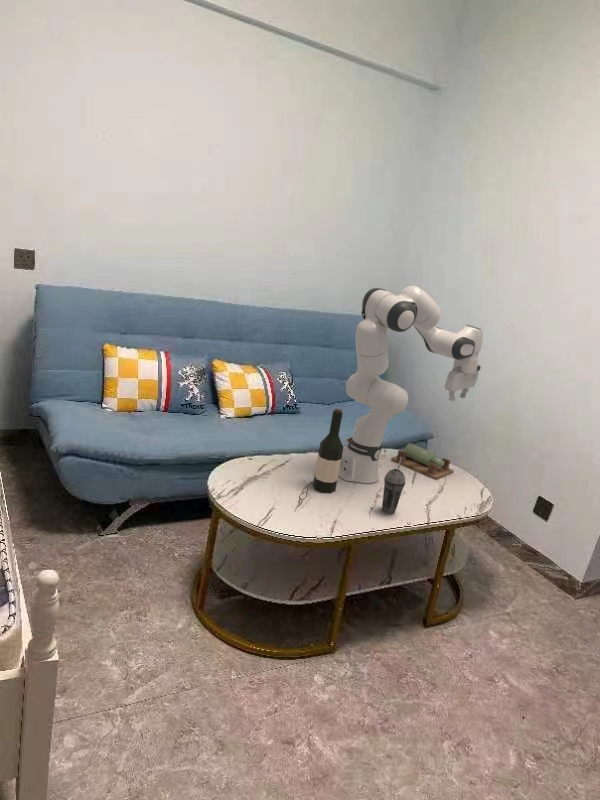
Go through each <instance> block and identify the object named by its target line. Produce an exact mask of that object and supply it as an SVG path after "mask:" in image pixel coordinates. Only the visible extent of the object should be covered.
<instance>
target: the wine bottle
mask: <svg viewBox="0 0 600 800" xmlns="http://www.w3.org/2000/svg"><path fill="white" fill-rule="evenodd" d="M342 419H343V410H342V409H340V408H335V409H334V410H333V411H332V416H331V421H330V427H329V433H328V434H327V435H325V437H324V438H323V440H322V441H320V443H319V448H318V455H317V459H316V466H315V473H314V477H313V483H312V487H313V489H314V491H316V492H319V493H322V494H332V493H334V492H336V489H337V485H338V479H339V476H338V474H339V469H340V464H341V458H342V453H343V447H344V445H343V444H342V441H341V438H340V436H339V435H340V429H341V424H342V421H343V420H342Z"/></svg>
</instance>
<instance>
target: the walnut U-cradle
mask: <svg viewBox="0 0 600 800" xmlns="http://www.w3.org/2000/svg"><path fill="white" fill-rule="evenodd" d="M400 457H402V459H401V463H400V466H403V467H405V468H407V469H409V470H412V471H414V472H416V473H419V474H421V475H423V476H425V477H428V478H430V479H433V480H435V481H438V480H441V479H443V478H445V477H447V475H448V476H451V475H452V474H454V469H452V468H450V464H451V459H448V458H445V457H442V459H441V460H442V461H444V462H445V464H444V466H443V467H442V468H441V467H439V466H438V465H436V464H434V463H430V464H429V466H426V465H424V464H422V463H419V462H417V461H415V460H412V459H410V458H407V457H406V452H405V451H404V450H402V449H399V450H397V455H395V456H392V457H391V458H390V461H391V462H393V463H395V464H398V465H399V461H400ZM440 478H441V479H440Z"/></svg>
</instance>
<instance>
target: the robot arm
mask: <svg viewBox="0 0 600 800" xmlns="http://www.w3.org/2000/svg"><path fill="white" fill-rule="evenodd" d="M361 308H362V309H361V315H362V318H363V320H361V321H360V322H359V323H358V324H357V326H356V330H355V351H356V361H357V363H356V364H357V367H356V368H357V369H356V372H355V373H353V374H351V375H350V376H349V378H348V379H347V381H346V383H345V391H346V394H347V395H348V396H349V397H350V398H351V399H353V401H356V402H357V403H361V404H363V405H365V406H366V407H367V406H368V407H370V410H369V413H368V414H365V415H361V416H359V418H357V419H356V421H355V423H354V430H353V435H352V437H349V438H347V439H346V441H345V443H347V445H343V453H342V458H341V464H340V469H339V474H338V478H341V479H342V480H344V481H346V482H355V483H359V484H360V483H362V484H374V483H376V482H378V481H379V462H380V461H379V460H380V457H381V453H382V448H383V444H382V442H383V437H384V434H385V429H386V427H387V426H388V423H389V421H390V420H391V419H392V418H393V417H395V416H396V415H399V414H402V413H403V412H404V411H405V409H406V408H407V406H408V404H409V394H408V392H407V390H406V389H404V388H403V387H401V386H399V385H398V384H396V383H393V382H390V381H387V380H384V379H382V378H380V376H381V375H382V374H384V373H385V372H386V371H387V370H388V368H389V364H390V362H389V351H388V349H389V348H388V341H387V332H388V330H391V331H392V332H393V331H395V332H397V333H402V332H403V333H404V332H406V331H408V330H409V329H410V328H411V327H412V326H413V328H415V330H416V331H417V333H418V334H419V335H420V336H421V338H422V339H423V342H424V345H425V347H426V349H427V350H428V352H430V353H434V354H436V355H437V354H438V355H441V356H443V357H446V358H449V359H452V360H454V361H453V364H452V370H450V371H449V373H448V374H447V376H446V380H445V383H444V390H446V391H448V395H449V396H448V401H451V402H454V401H455V398H456V396H455V393H456V391H460V390H462V391H461V393H460V394H459V398H461V399H465V398H466V396H467V393H468V392H469V390H470V388H474V387H475V385H476V384H477V381H478V377H479V371H481V370H482V369H481V368H482V366H481V365H480V364H479V363H478V361H479V358H478V357H479V354H480V352H481V349H482V345H483V338H484V337H483V336H484V332H483V330H482V329H481V328H479V327H476V326H473V325H470V324H465V325H464V326H463V327H462V329H461V330H459V331H458V332H452V331H449V330H446V329H444V328H441V327H438V326H437V325H438V323H439V322H440V320H441V315H442V311H441V308H440V307H439V305H438V303H437V302H436V300H434V299H433V297H432V296H431V295H429V294H428V293H427V292H426V291H424V290H423V289H422V288H420V287H419V286H417V285H409V286H406V287H405V288H403V289H402V290H401V291H400V292H399V294H398V295H397V294H395V293H393V292H390V291H388V290H386V289H385V288H381V287H374V288H371V289H369V290H368V291H367V292H366V293H365V295H364V297H363V300H362V303H361Z"/></svg>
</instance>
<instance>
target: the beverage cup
mask: <svg viewBox="0 0 600 800" xmlns="http://www.w3.org/2000/svg"><path fill="white" fill-rule="evenodd" d="M401 459H402V457H400V461H399V464H398V466H397V468H393V469H390V470H389V471H387V472H386V474H385V476H384V478H383V481H384V482H383V483H384V484H383V485H384V487H383V495H382V503H381V511H382V513H383V514H386V515H391V516H393V515H395V513H396V511H397V508H398V505H399V501H400V499H401V495H402V493H403V492H402V491H403V490H404V488H405V485H406V476H405V474H404V472H403V471H402V470H401V469H400V466H401V465H400V463H401Z"/></svg>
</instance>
